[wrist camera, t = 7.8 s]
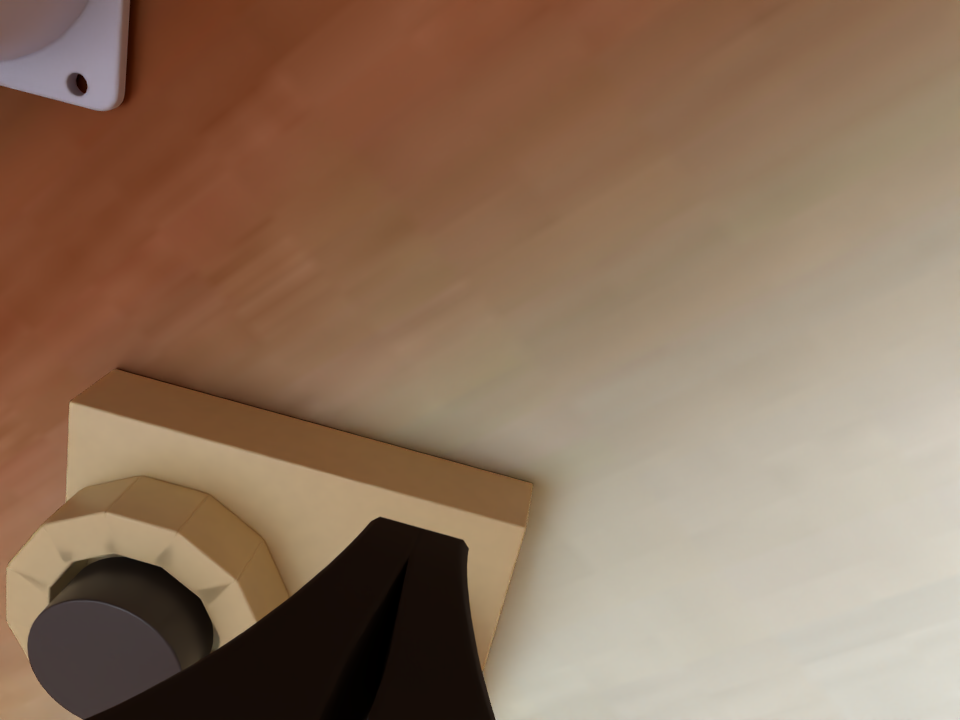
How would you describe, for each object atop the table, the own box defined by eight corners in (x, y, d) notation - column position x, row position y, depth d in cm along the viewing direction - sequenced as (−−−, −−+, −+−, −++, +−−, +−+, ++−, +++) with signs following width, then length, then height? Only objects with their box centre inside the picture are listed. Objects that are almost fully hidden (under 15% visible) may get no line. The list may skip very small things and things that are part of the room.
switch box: (84, 637, 28) (4, 733, 24) (98, 363, 24) (4, 428, 20) (455, 743, 27) (431, 858, 23) (533, 482, 23) (519, 572, 19)
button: (66, 656, 23) (25, 705, 21) (70, 537, 21) (27, 580, 20) (206, 697, 23) (176, 749, 21) (221, 581, 21) (190, 627, 20)
